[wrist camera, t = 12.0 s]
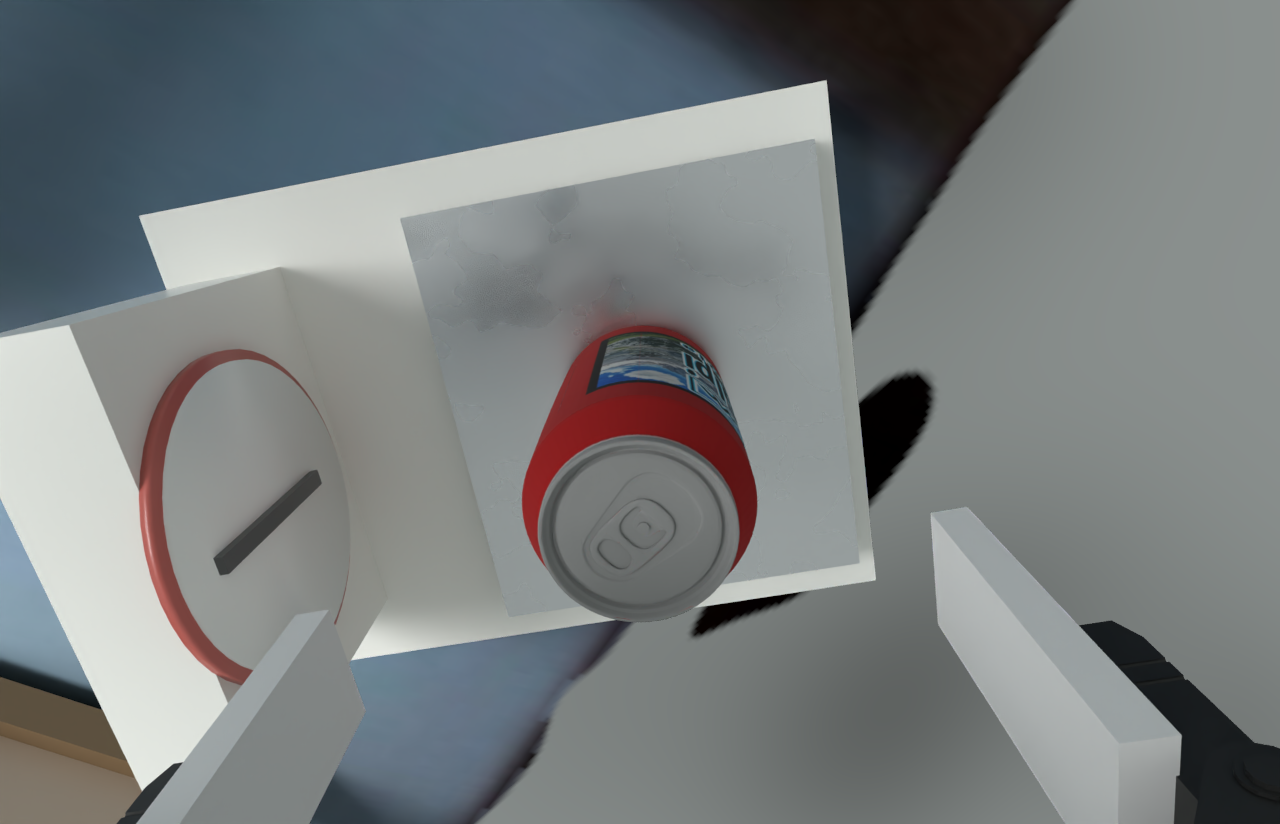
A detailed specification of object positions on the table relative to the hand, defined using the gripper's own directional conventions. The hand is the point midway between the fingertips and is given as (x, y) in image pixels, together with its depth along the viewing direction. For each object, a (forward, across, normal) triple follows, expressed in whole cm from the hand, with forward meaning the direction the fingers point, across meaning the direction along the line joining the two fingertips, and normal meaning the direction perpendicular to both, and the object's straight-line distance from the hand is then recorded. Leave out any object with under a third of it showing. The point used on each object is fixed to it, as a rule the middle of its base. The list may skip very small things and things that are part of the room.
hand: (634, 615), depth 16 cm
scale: (+21, -5, 0) cm, 22 cm away
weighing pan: (+17, 0, 0) cm, 17 cm away
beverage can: (+16, 0, 0) cm, 16 cm away
